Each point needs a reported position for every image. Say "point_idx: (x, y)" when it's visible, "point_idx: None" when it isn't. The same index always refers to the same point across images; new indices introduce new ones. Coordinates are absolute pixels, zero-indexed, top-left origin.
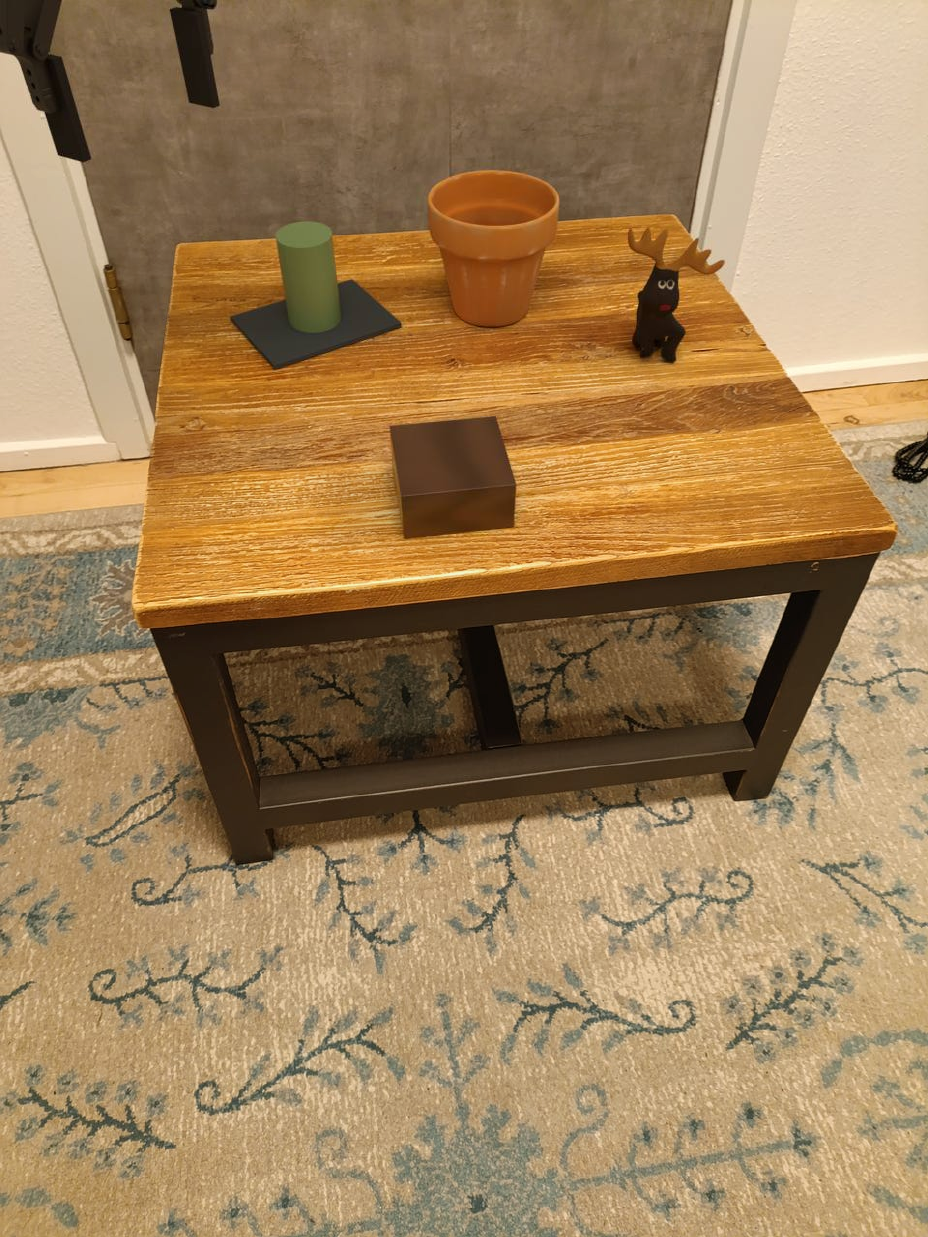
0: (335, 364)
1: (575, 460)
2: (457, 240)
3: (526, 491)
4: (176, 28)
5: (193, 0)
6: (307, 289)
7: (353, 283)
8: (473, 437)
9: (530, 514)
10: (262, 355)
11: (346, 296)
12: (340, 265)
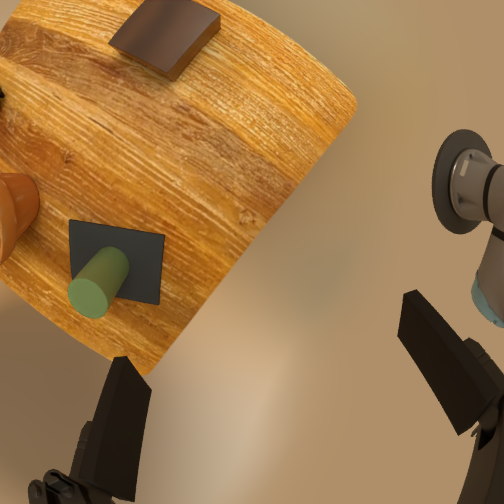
0: (127, 211)
1: (92, 29)
2: (6, 204)
3: None
4: (133, 476)
5: (88, 498)
6: (108, 266)
7: None
8: (136, 31)
9: None
10: (162, 254)
11: None
12: None
